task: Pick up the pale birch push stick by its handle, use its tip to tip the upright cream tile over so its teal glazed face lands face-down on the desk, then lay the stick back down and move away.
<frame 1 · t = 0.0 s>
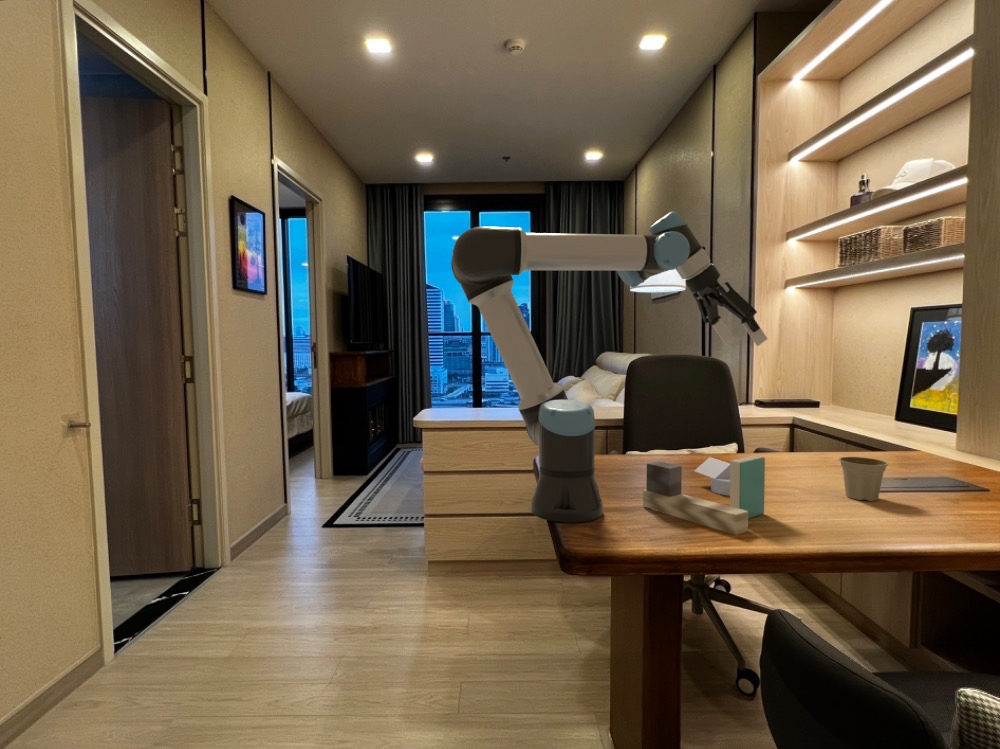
hand: (745, 342, 131), 36 cm above the table, tool tilted 35°, fingers open, 13 cm apart
flower pot: (862, 498, 124), on the table
wedge on round base: (725, 490, 132), on the table
tile: (746, 516, 111), on the table
push stick: (691, 518, 110), on the table
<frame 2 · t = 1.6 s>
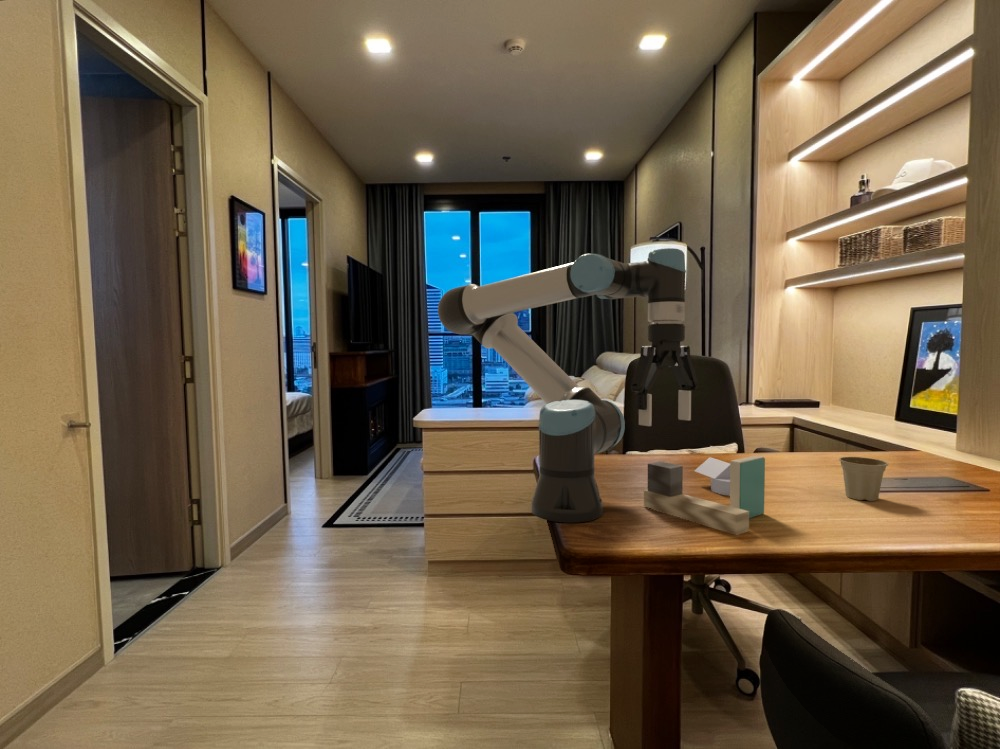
hand: (665, 422, 115), 19 cm above the table, tool pointing down, fingers open, 13 cm apart
nothing on the table moved.
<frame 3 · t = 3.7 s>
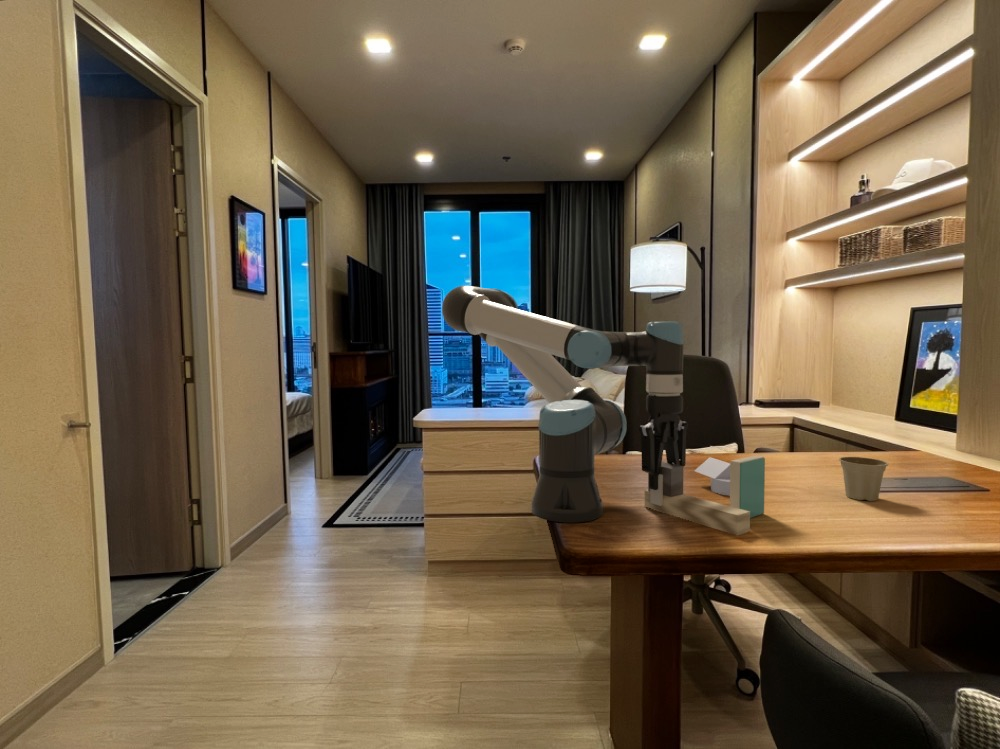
hand: (663, 501, 116), 2 cm above the table, tool pointing down, fingers closed on push stick, 4 cm apart
push stick: (693, 519, 110), on the table, touching gripper
everything else where it was.
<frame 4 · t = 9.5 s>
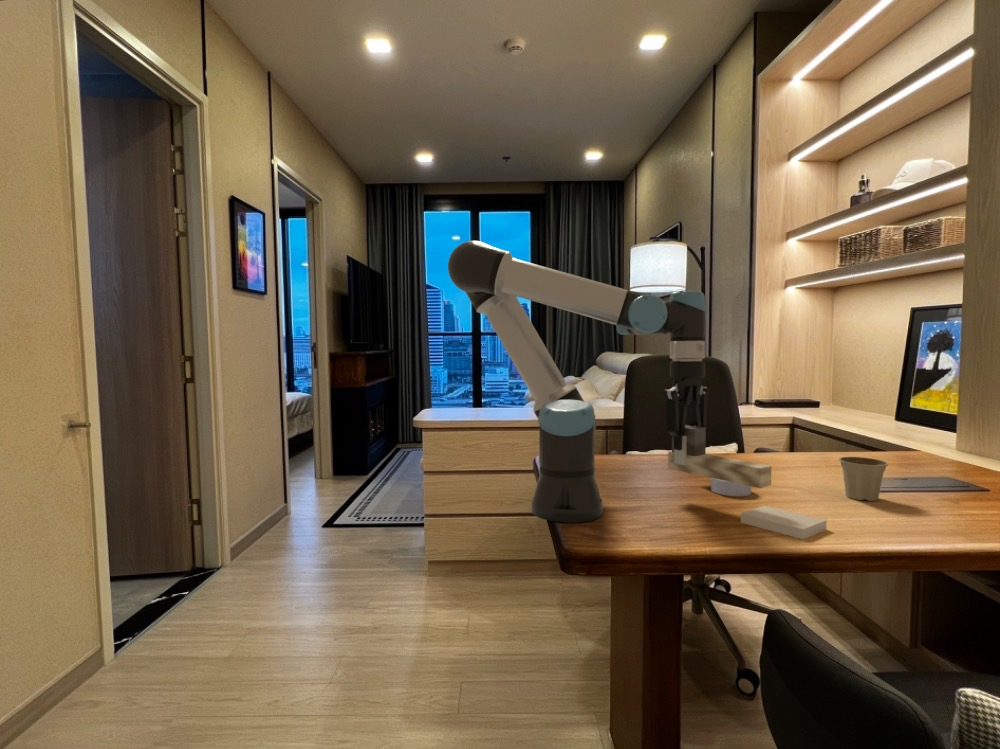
hand: (686, 462, 123), 9 cm above the table, tool pointing down, fingers closed on push stick, 4 cm apart
tile: (753, 514, 110), point 1 cm above the table, tilted 90°
push stick: (716, 476, 117), point 7 cm above the table, touching gripper
everything else where it was.
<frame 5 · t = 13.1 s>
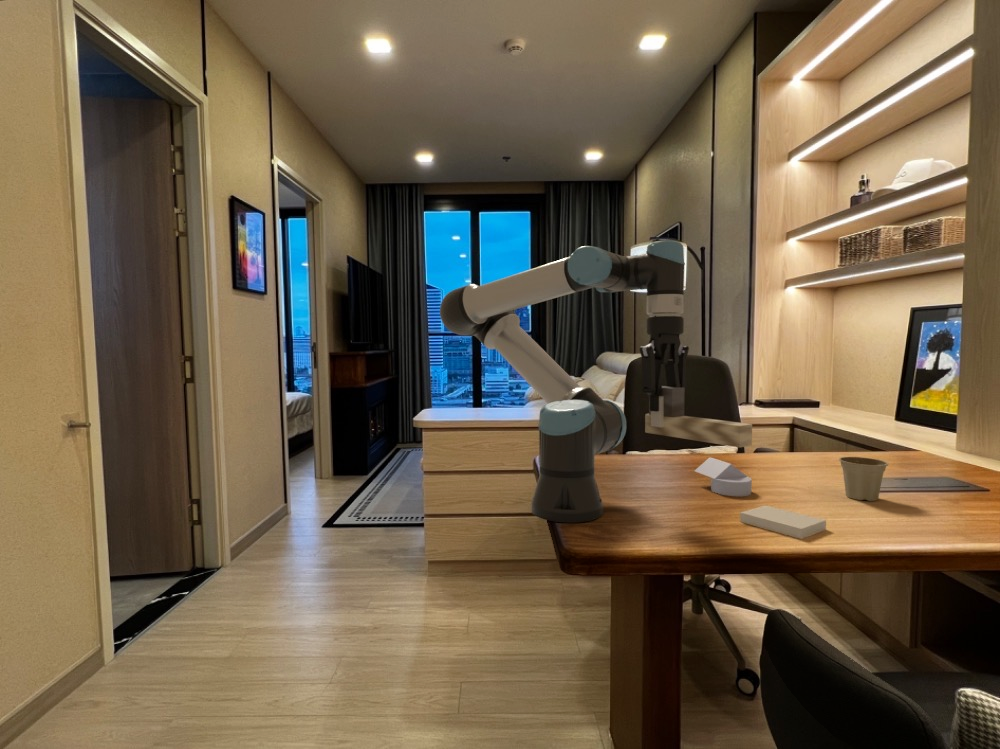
hand: (664, 425, 115), 18 cm above the table, tool pointing down, fingers closed on push stick, 4 cm apart
push stick: (694, 438, 109), point 16 cm above the table, touching gripper
everything else where it was.
when the fingers open (3 cm above the table, at t = 16.1 s): push stick drops 1 cm, on the table.
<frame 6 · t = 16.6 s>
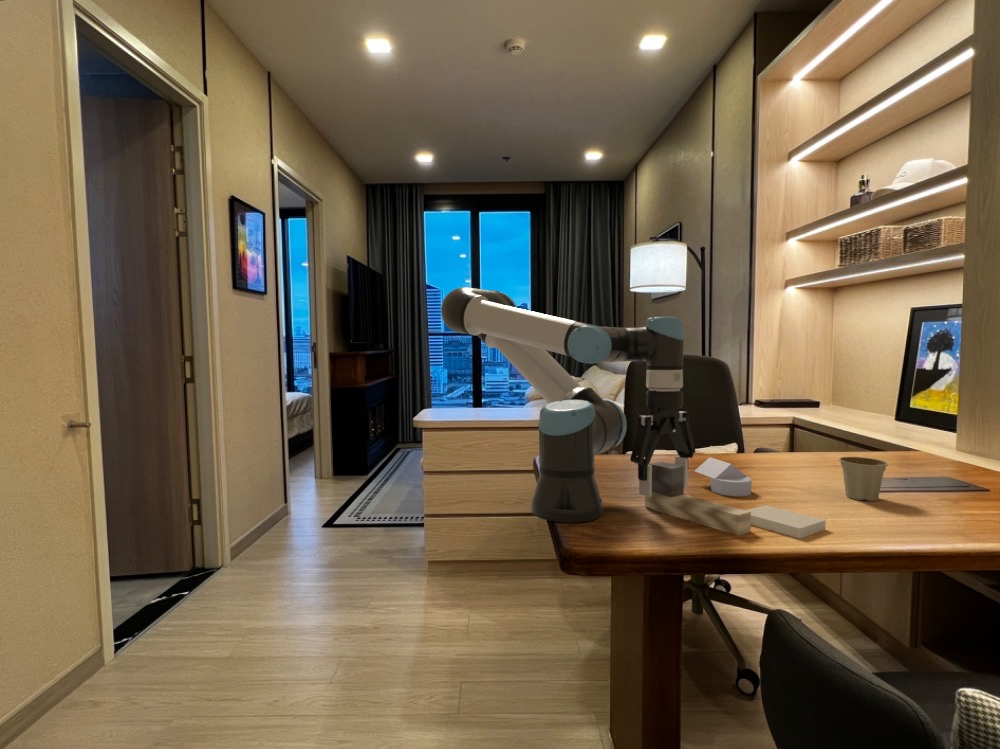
hand: (663, 490, 116), 4 cm above the table, tool pointing down, fingers open, 11 cm apart
push stick: (693, 519, 110), on the table
everything else where it was.
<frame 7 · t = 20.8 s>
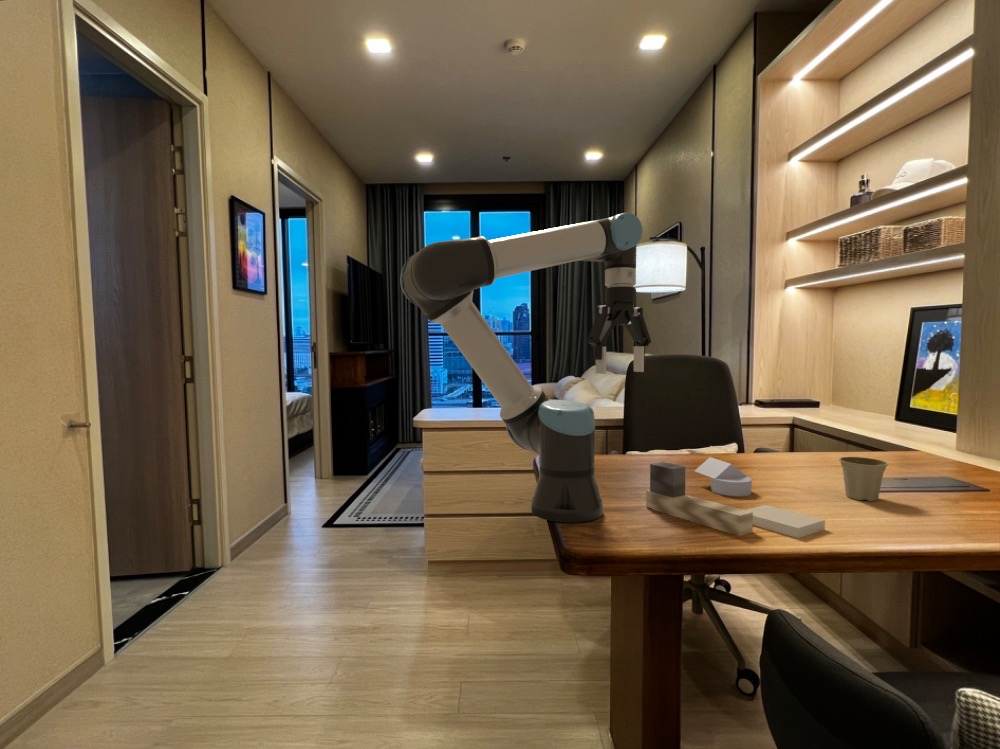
hand: (620, 372, 134), 29 cm above the table, tool pointing down, fingers open, 13 cm apart
nothing on the table moved.
at the end: tile tilted 90°; push stick inside the target area (0.9 cm from its centre), on the table; the gripper is holding nothing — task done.
